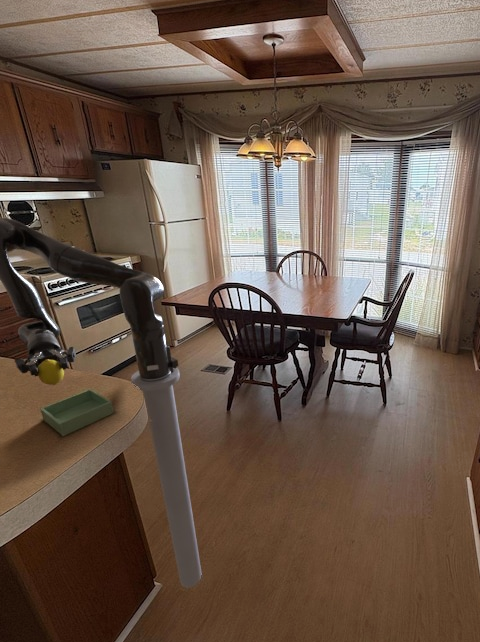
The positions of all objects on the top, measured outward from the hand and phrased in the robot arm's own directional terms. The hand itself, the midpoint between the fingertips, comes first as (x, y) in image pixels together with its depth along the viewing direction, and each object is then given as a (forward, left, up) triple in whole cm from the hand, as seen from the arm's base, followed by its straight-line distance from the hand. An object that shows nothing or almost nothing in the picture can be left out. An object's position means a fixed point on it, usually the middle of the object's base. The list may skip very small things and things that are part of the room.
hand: (50, 369), depth 91 cm
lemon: (-1, -2, -6) cm, 7 cm away
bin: (-1, +9, -11) cm, 15 cm away
